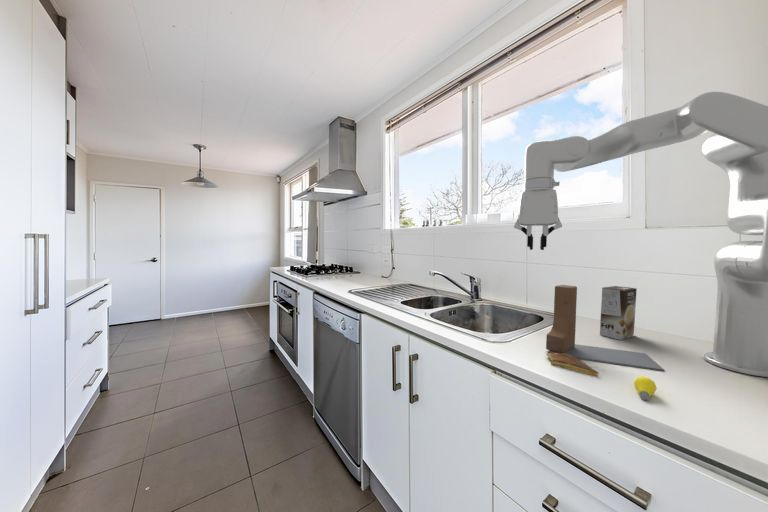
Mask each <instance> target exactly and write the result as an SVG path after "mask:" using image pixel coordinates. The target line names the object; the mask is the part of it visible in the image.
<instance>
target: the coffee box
mask: <svg viewBox="0 0 768 512" xmlns="http://www.w3.org/2000/svg"><path fill="white" fill-rule="evenodd" d="M601 289H602V290H601V304H600V323H599V325H600V326H599V335H600V336H604V337H606V338H611V339H615V340H619V341H623V340H625V339H628V337H629V338H631V336H632V337H633V335H634V336H635V322H636V321H635V319H636V305H637V304H636V303H637V289H638V288H637V287H629V286H628V287H627V286H617V285H613V286H605V287H601Z"/></svg>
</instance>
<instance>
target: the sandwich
mask: <svg viewBox="0 0 768 512" xmlns="http://www.w3.org/2000/svg"><path fill="white" fill-rule="evenodd" d="M545 355H546V356H547V357H548V358H549V359H550V364H551V365H553V366H554V365H555V366H558V367H562V368H565V369H569V370H572V371H575V372H579V373H583V374H586V375H591V376H595V377H598V375H599V374H600V372H599V371H597V370H595V369H594V368H592V367H590V366H589V365H587V363H585V362H583V361H582V360H581V359H577V358H575V357H574V356H572V355H567V354H564V353H550V352H547V353H545Z"/></svg>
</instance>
